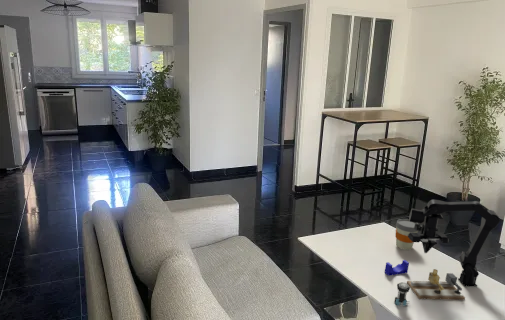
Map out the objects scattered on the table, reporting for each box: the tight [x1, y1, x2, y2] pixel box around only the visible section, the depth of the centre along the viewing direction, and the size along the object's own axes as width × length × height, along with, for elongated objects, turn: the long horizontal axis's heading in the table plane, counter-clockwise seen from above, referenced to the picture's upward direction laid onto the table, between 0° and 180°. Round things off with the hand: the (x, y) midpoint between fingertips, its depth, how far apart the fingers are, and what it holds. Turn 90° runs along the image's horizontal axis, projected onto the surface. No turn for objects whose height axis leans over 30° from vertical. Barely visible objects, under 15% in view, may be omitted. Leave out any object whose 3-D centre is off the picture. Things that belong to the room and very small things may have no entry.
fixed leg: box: [444, 272, 463, 293], centre depth 185 cm, size 3×10×5 cm, turn 3°
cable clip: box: [384, 259, 410, 277], centre depth 200 cm, size 12×4×6 cm, turn 109°
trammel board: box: [406, 280, 466, 301], centre depth 185 cm, size 22×13×3 cm, turn 93°
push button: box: [394, 282, 411, 307], centre depth 173 cm, size 7×5×10 cm
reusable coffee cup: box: [395, 218, 419, 251], centre depth 228 cm, size 13×13×15 cm
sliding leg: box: [427, 268, 444, 292], centre depth 184 cm, size 3×10×7 cm, turn 3°
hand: (425, 252), depth 197 cm, fingers closed
